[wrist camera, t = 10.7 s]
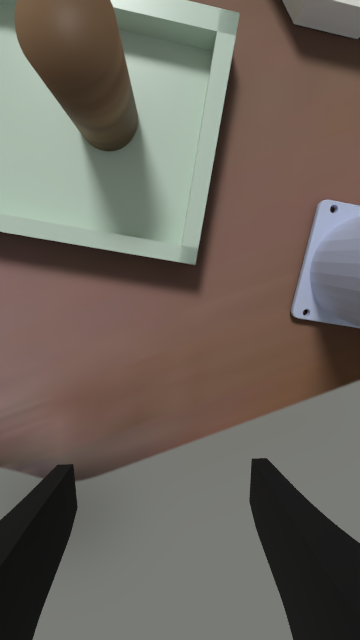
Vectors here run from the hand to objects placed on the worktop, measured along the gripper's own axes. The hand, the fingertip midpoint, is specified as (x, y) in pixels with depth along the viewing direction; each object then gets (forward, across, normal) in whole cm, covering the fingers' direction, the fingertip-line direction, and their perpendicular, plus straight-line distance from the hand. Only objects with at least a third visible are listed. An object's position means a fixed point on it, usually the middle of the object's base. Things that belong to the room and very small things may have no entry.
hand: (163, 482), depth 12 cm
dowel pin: (+10, +3, -17) cm, 20 cm away
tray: (+10, +4, -16) cm, 20 cm away
